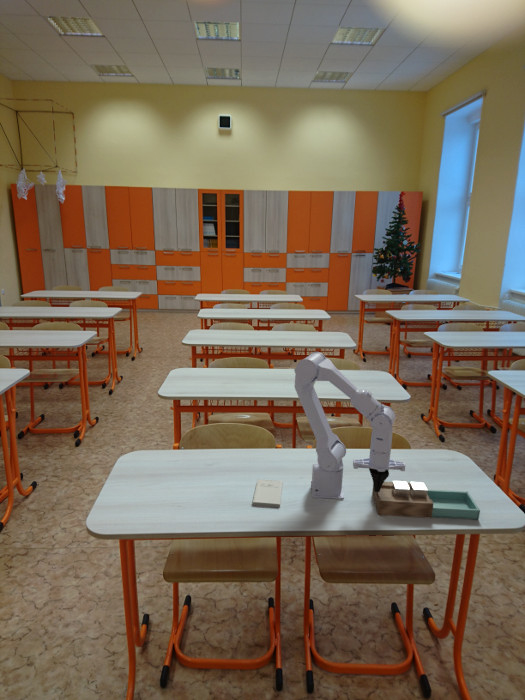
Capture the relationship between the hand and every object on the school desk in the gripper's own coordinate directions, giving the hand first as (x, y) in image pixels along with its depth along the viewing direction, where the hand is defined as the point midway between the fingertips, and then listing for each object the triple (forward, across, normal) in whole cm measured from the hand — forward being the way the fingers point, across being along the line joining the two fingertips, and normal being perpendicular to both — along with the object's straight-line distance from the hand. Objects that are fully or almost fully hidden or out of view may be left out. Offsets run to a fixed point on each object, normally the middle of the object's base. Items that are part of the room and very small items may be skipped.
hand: (376, 490), depth 130 cm
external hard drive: (+6, -32, +2) cm, 33 cm away
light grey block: (+1, +12, 0) cm, 12 cm away
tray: (+5, +22, 0) cm, 22 cm away
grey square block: (+1, +7, 0) cm, 7 cm away
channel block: (+5, +8, 0) cm, 9 cm away
